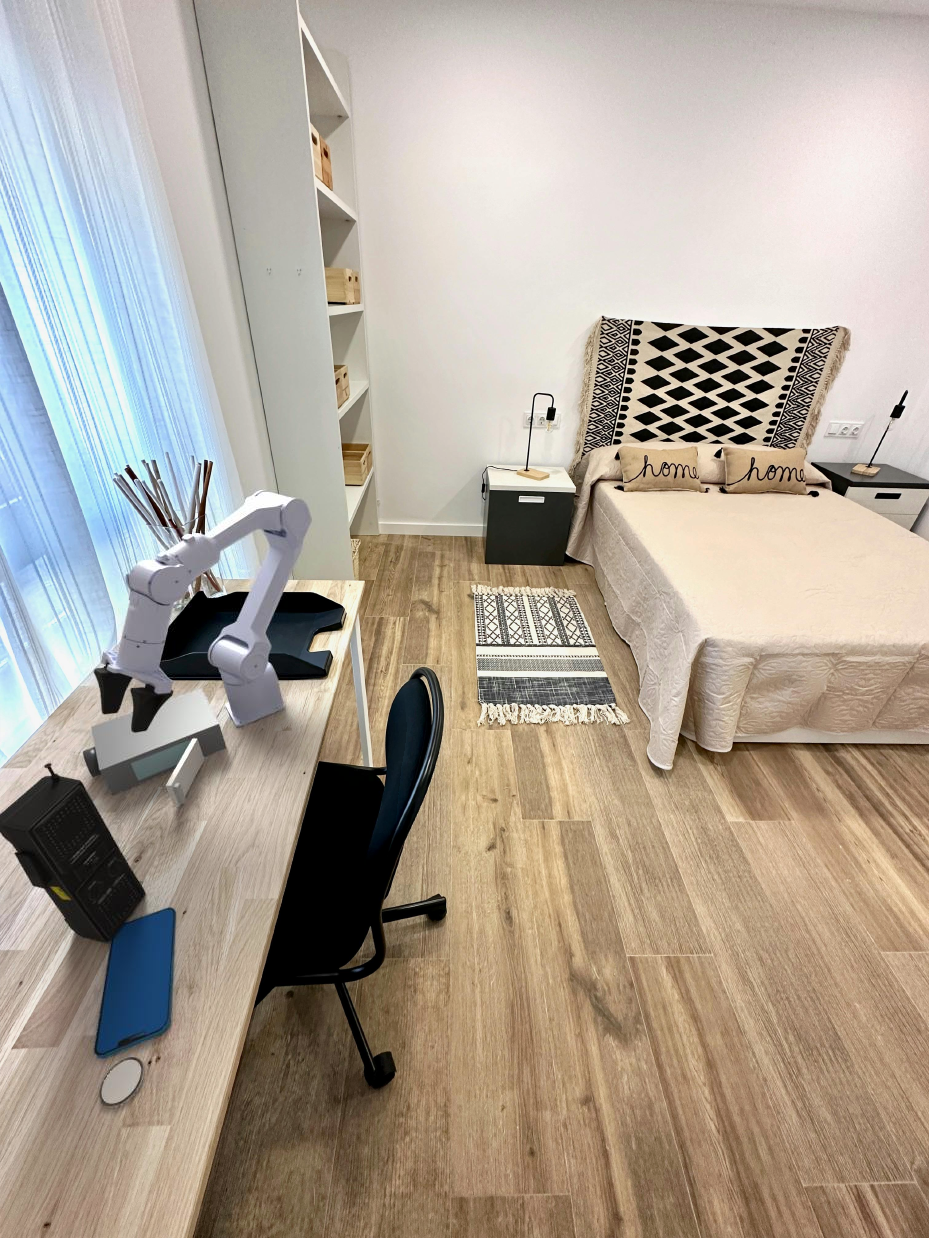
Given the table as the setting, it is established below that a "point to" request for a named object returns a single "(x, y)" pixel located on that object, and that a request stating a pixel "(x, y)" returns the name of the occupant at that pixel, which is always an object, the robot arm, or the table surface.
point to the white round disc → (121, 1081)
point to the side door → (185, 773)
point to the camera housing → (152, 742)
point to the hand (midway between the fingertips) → (124, 721)
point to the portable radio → (72, 856)
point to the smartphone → (137, 983)
